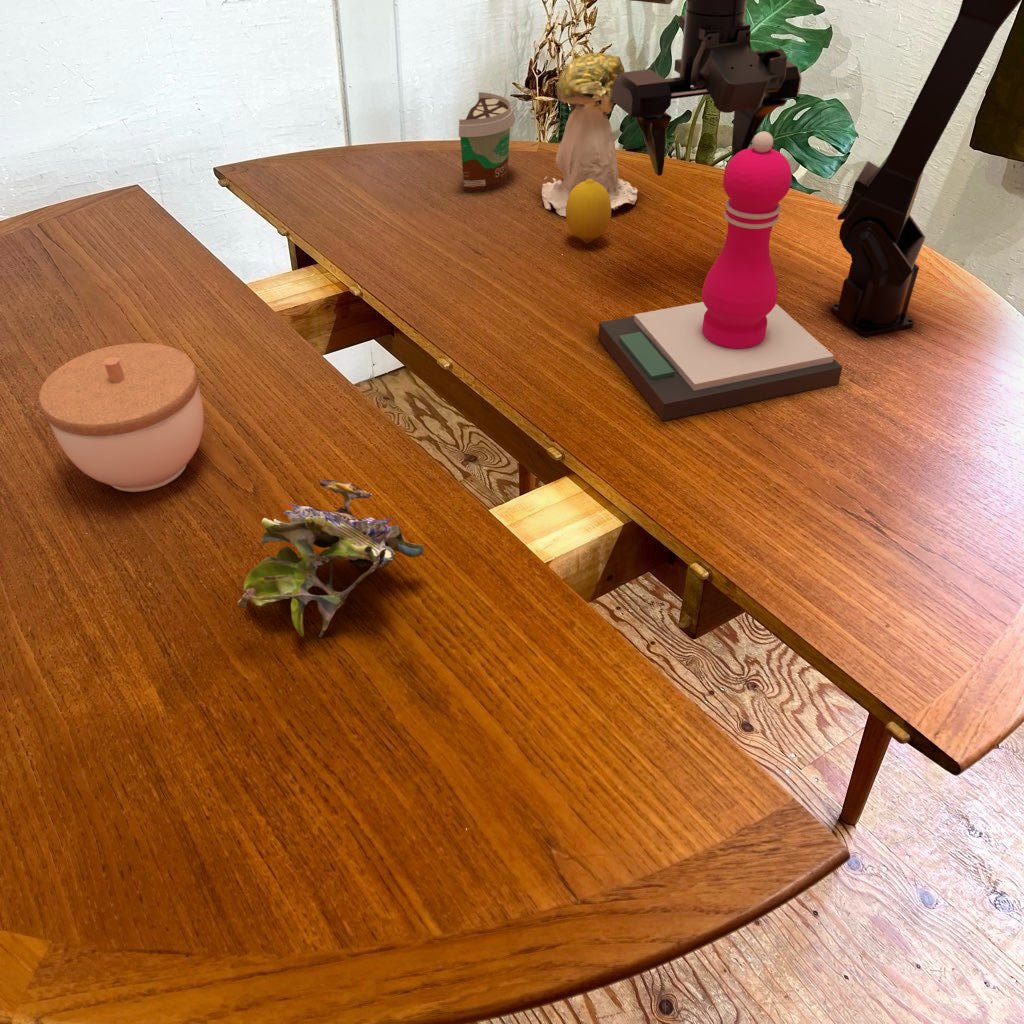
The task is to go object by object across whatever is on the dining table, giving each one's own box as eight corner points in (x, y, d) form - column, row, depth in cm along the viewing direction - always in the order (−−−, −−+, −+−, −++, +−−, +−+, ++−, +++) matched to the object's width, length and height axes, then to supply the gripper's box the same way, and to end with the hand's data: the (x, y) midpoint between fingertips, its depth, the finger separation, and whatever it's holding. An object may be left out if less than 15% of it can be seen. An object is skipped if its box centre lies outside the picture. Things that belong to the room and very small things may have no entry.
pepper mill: (694, 348, 95) (720, 144, 82) (699, 312, 100) (724, 115, 87) (769, 355, 94) (808, 149, 80) (770, 318, 99) (806, 120, 86)
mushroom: (652, 211, 126) (665, 63, 114) (560, 225, 123) (564, 74, 111) (617, 178, 134) (626, 37, 123) (530, 190, 132) (531, 46, 120)
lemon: (617, 238, 120) (621, 175, 115) (596, 256, 116) (599, 191, 111) (578, 229, 122) (580, 167, 117) (556, 245, 119) (557, 182, 114)
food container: (505, 199, 130) (504, 123, 123) (461, 196, 131) (458, 120, 124) (523, 165, 139) (523, 93, 132) (481, 162, 140) (479, 90, 133)
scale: (757, 308, 106) (761, 285, 104) (838, 384, 95) (844, 359, 93) (598, 338, 102) (599, 315, 100) (662, 421, 90) (665, 396, 88)
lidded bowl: (67, 445, 89) (26, 341, 81) (205, 413, 92) (177, 310, 85) (78, 528, 80) (33, 419, 73) (230, 489, 83) (201, 381, 76)
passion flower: (365, 613, 79) (444, 514, 74) (331, 701, 70) (418, 595, 65) (246, 541, 77) (318, 433, 71) (194, 622, 68) (272, 505, 62)
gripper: (662, 40, 85) (648, 210, 95) (846, 20, 89) (814, 184, 99) (614, 10, 93) (606, 169, 103) (784, -7, 97) (760, 148, 107)
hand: (697, 168), depth 103 cm, fingers open, 9 cm apart
